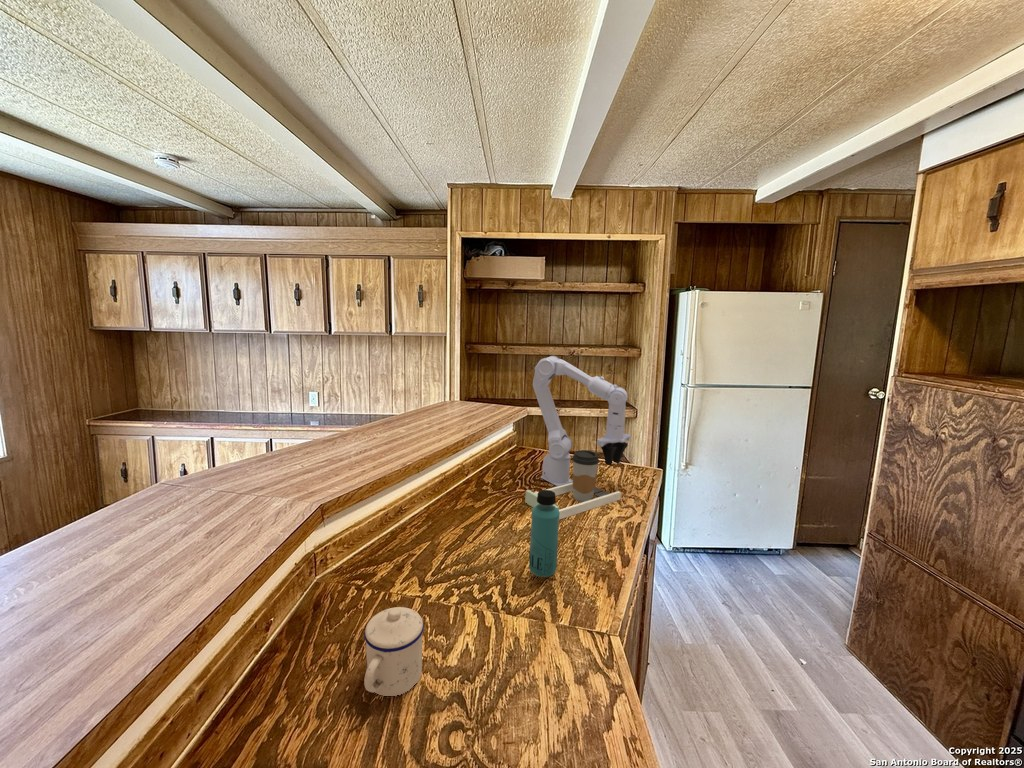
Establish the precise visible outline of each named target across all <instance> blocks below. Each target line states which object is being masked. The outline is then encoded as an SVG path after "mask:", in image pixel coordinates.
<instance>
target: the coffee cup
mask: <svg viewBox="0 0 1024 768" xmlns="http://www.w3.org/2000/svg"><path fill="white" fill-rule="evenodd" d="M599 459H600V458H599V454H598V453H597V452H595V451H592V450H585V449H582V450H580V449H579V450H575V451H574V454H573V455H572V480H573V491H572V497H573V499H574V500H575V501H577V502H579V503H582V502H585V501H589V500H592V499H594V495H595V494H594V488H595V487H596V480H597V472H598V466H599V465H598V464H599V463H600V460H599Z"/></svg>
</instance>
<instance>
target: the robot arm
mask: <svg viewBox="0 0 1024 768" xmlns="http://www.w3.org/2000/svg"><path fill="white" fill-rule="evenodd" d="M554 376H567V377H569V378H571V379H573V380H575V381H578V382H579V383H581V384H583V385H584V386H586V387H587V390H588V392H590V393H592V394H593V395H595V396H597V397H599V398H600V399H603V400H604V401H607V403H608V410H607V415H606V417H607V418H606V428H605V429H606V431H605V435H604V436H602V437H601V438H599V439H597V440H596V445H597V446H599V447H600V448H601V451H602V453H603V456H604V462H605V465H606V466H607V465H608V466H609V467H610V466H612V464H613V463H616V464H620V462H621V458H622V457H623V454H624V452H625V450H626V449H627V448H628V445H629V443H628V442H629V441H630V442H631V438H632V435H631V434H629V433H625V422H626V413H627V412H626V408H627V405H626V403H627V401H628V397H629V396H628V392H627V391H626V390H625V388H623V387H622V386H618V385H617V384H615V383H614V384H612V383H611V382H609V381H607V380H606V379H605V377H604V376H603V375H602V376H597V375H596V376H591V375H588V373H585V372H584V371H583V370H581V369H579V368H578V367H576V366H574V365H572V364H571V363H570V362H567V361H566V360H564V359H561V358H559V357H558V356H556V355H551V356H548V357H544V358H541V359H540V360H539V361H538V362H537V363H536V365H535V366H534V375H533V380H532V388H533V390H534V394H535V397H536V399H537V403H538V405H539V408H540V412H541V415H542V417H543V421H544V423H545V427H546V430H547V434H548V435H547V442H548V453H547V454H545V456H544V457H543V460H542V461H543V462H542V475H541V476H540V478H541V479H543V480H544V481H547V482H548V483H550V484H552V485H554V486H555V487H557V486H561V485H565V484H569V483H572V482H573V478H572V479H571V478H570V470H571V469H570V467H571V454H570V451H571V449H572V447H573V442H572V441H573V440H572V439H571V438H570V436H568V434H567V431H566V429H564V427H563V425H562V423H561V420H560V416H559V413H558V411H557V407H556V405H555V404H556V403H555V402H554V399H553V395H552V392H551V390H550V386H549V385H550V383H551V381H552V380H553V377H554ZM626 441H628V442H626Z"/></svg>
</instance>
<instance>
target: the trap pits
mask: <svg viewBox="0 0 1024 768" xmlns="http://www.w3.org/2000/svg"><path fill="white" fill-rule="evenodd" d="M601 491H602V492H601ZM608 494H611V493H610V492H608V491H604V490H603V489H602V488H599V487H597V486H595V488H594V494H593V495H594V496H595V497H596V498H598V497H601V496H605V495H608Z"/></svg>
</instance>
